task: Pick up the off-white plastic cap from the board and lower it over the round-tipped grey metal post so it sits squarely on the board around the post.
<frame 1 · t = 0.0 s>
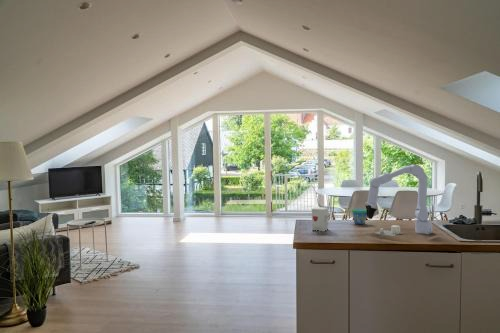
hand: (369, 217, 270), 11 cm above the table, tool pointing down, fingers open, 7 cm apart
cap: (395, 232, 266), point 1 cm above the table, touching board
supplement box: (320, 230, 288), on the table
board: (388, 235, 266), on the table
snack cup: (359, 224, 309), on the table
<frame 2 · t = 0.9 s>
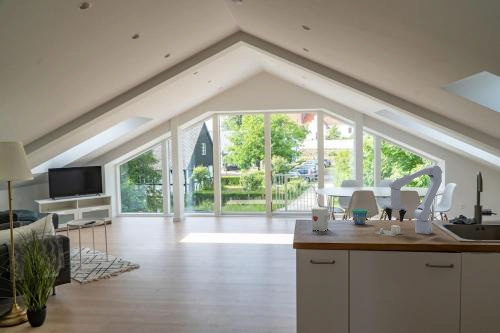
hand: (395, 220, 265), 9 cm above the table, tool pointing down, fingers open, 7 cm apart
nothing on the table moved.
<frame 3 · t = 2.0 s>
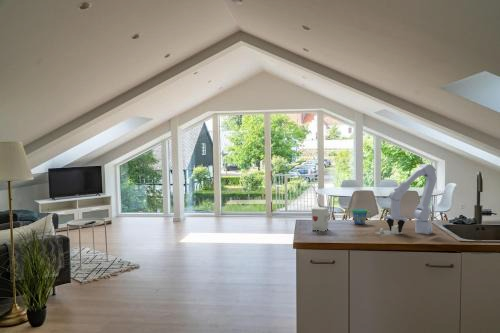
hand: (395, 231, 266), 2 cm above the table, tool pointing down, fingers closed on cap, 5 cm apart
cap: (395, 232, 266), point 2 cm above the table, touching board, gripper
everything else where it was.
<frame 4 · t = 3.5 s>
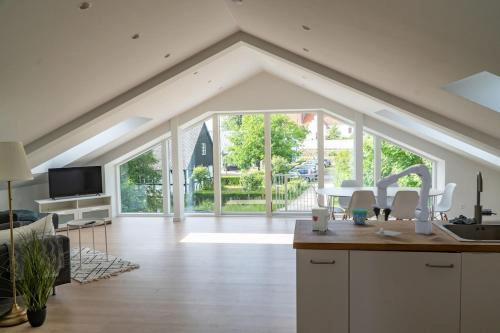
hand: (382, 220, 266), 9 cm above the table, tool pointing down, fingers closed on cap, 5 cm apart
cap: (382, 221, 266), point 9 cm above the table, touching gripper
everything else where it was.
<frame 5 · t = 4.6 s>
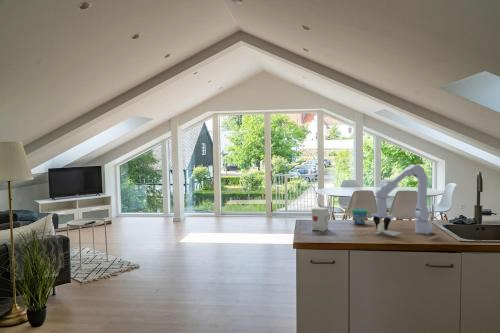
hand: (381, 229, 266), 4 cm above the table, tool pointing down, fingers closed on cap, 5 cm apart
cap: (381, 230, 266), point 3 cm above the table, touching gripper
everything else where it was.
when the fingers open (3 cm above the table, at t = 5.2 s): cap drops 1 cm, resting on board.
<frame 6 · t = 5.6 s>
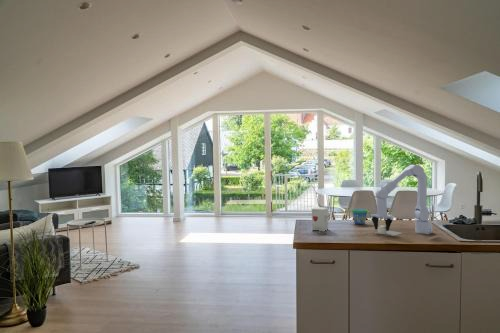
hand: (381, 229, 266), 3 cm above the table, tool pointing down, fingers open, 7 cm apart
cap: (381, 233, 266), point 1 cm above the table, touching board
everything else where it was.
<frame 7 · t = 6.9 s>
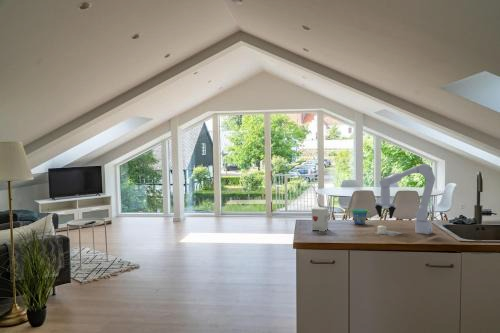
hand: (385, 217, 276), 9 cm above the table, tool pointing down, fingers open, 7 cm apart
nothing on the table moved.
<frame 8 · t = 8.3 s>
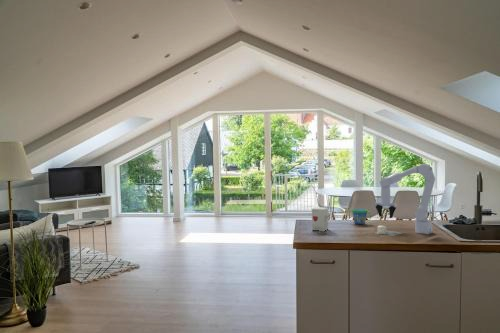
hand: (385, 217, 277), 9 cm above the table, tool pointing down, fingers open, 7 cm apart
nothing on the table moved.
at the end: cap 0.1 cm from the target spot on the board, point 1.5 cm above the board's base; cap tilted 0°; the gripper is holding nothing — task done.
